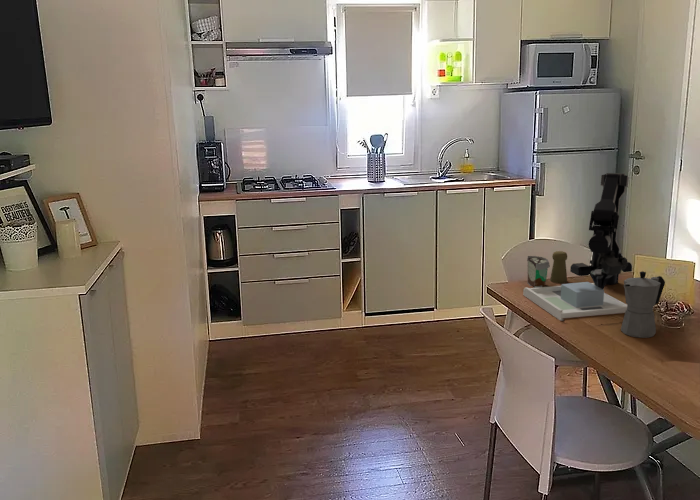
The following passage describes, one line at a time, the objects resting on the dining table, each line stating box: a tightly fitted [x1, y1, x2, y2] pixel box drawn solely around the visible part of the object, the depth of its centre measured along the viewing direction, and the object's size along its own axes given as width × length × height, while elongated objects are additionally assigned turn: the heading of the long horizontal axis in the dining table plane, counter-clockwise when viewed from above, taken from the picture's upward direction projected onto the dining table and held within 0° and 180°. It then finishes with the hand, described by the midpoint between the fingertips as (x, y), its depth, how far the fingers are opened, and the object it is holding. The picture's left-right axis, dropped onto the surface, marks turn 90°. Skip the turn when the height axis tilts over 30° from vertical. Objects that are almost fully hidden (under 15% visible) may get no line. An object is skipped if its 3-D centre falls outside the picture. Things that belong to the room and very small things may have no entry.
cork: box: [549, 250, 568, 284], centre depth 232 cm, size 6×6×11 cm
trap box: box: [522, 282, 627, 322], centre depth 207 cm, size 26×26×3 cm
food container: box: [526, 255, 550, 288], centre depth 226 cm, size 12×6×10 cm, turn 179°
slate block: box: [560, 281, 605, 307], centre depth 207 cm, size 10×10×5 cm
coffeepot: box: [620, 270, 666, 339], centre depth 180 cm, size 15×9×18 cm, turn 115°
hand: (599, 293), depth 208 cm, fingers closed
